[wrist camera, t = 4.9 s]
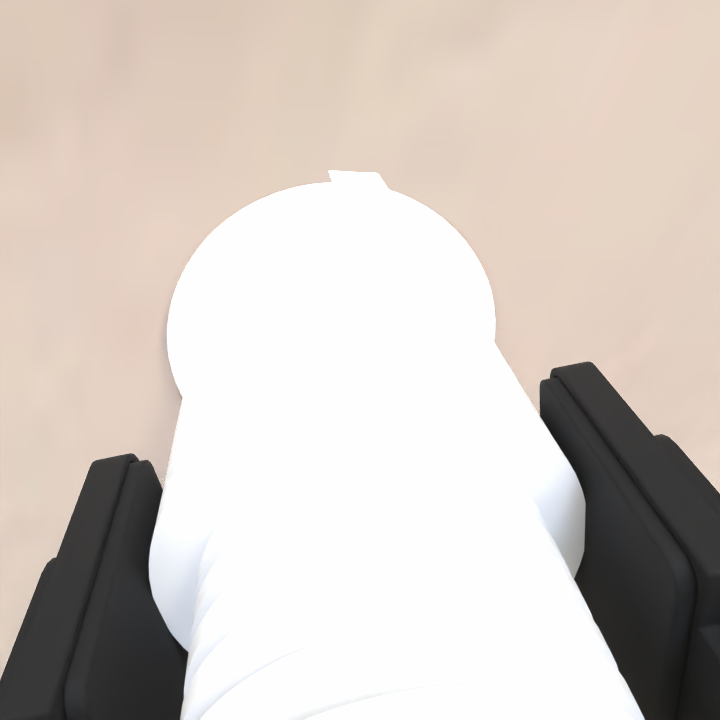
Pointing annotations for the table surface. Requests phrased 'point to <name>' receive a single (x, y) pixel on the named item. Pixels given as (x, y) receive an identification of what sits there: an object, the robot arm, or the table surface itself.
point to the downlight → (365, 482)
